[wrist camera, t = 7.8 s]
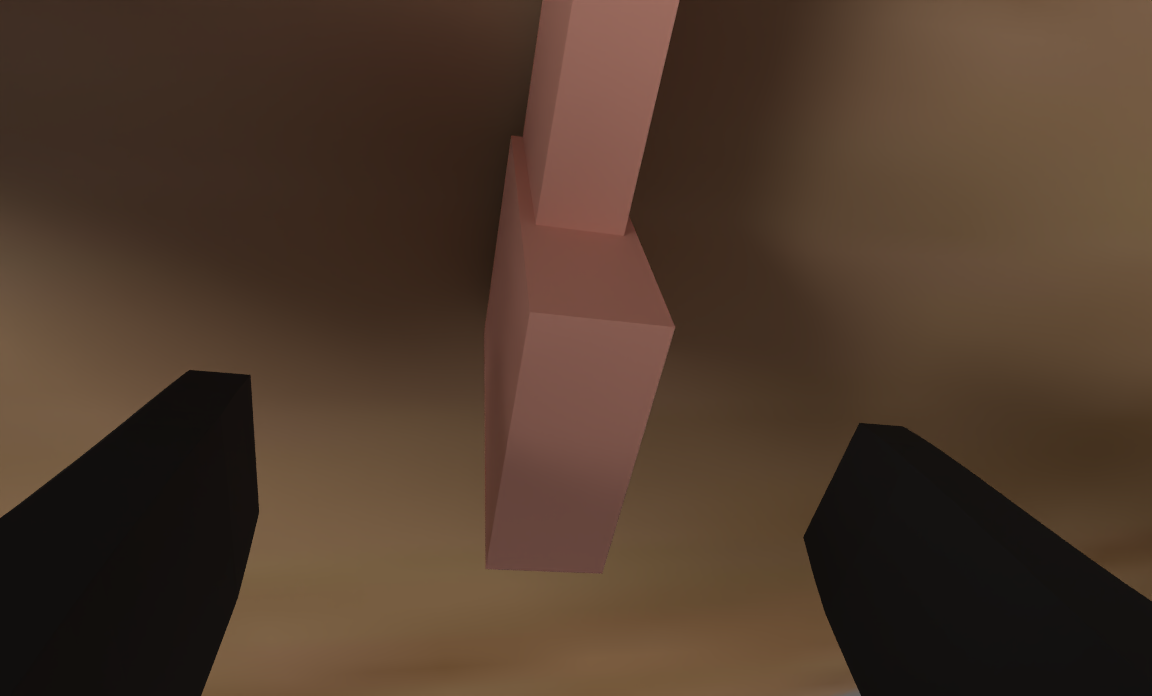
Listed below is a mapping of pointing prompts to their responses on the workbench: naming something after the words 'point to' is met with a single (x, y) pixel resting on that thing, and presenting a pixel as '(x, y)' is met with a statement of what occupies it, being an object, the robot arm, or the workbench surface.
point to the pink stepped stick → (573, 292)
